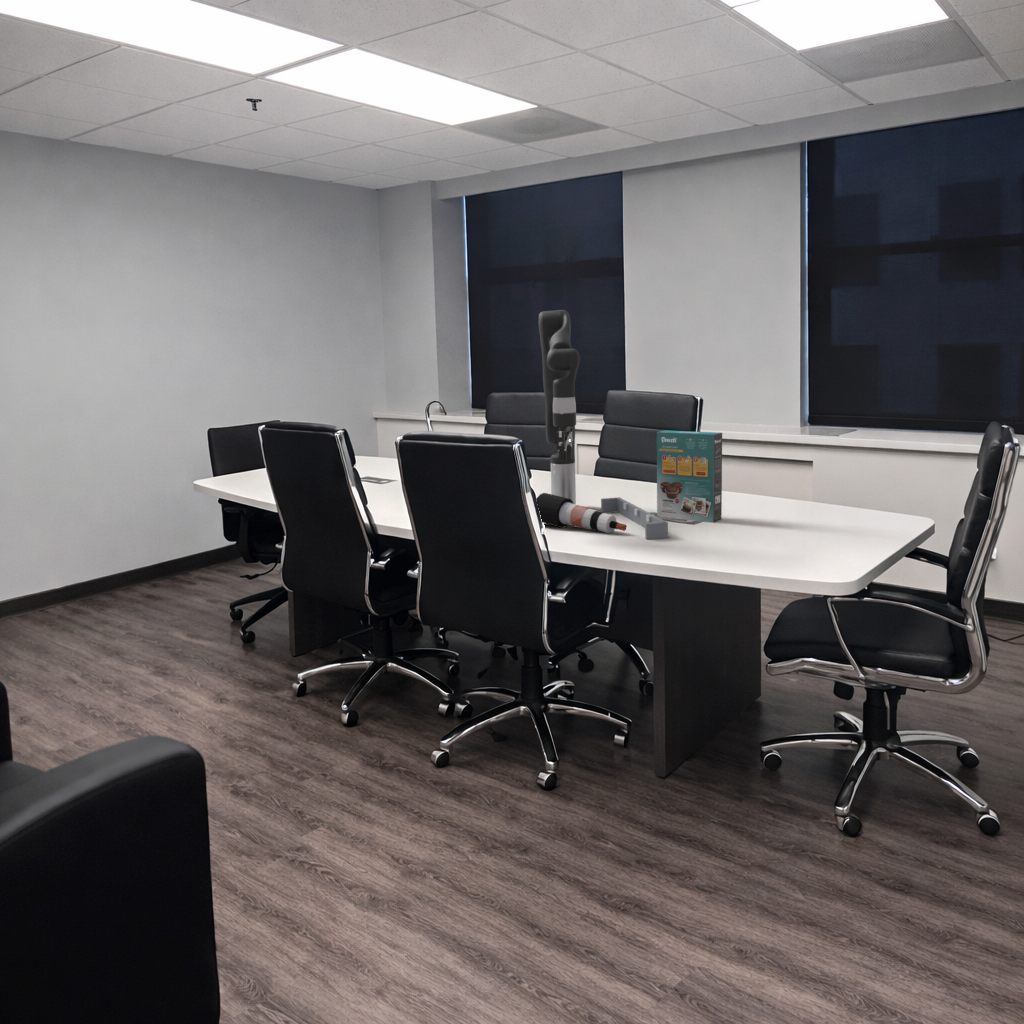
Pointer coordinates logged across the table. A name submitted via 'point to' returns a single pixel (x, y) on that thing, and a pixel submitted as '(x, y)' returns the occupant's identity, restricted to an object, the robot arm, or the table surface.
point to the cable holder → (637, 517)
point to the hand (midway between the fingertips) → (565, 460)
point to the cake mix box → (689, 475)
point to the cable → (574, 514)
